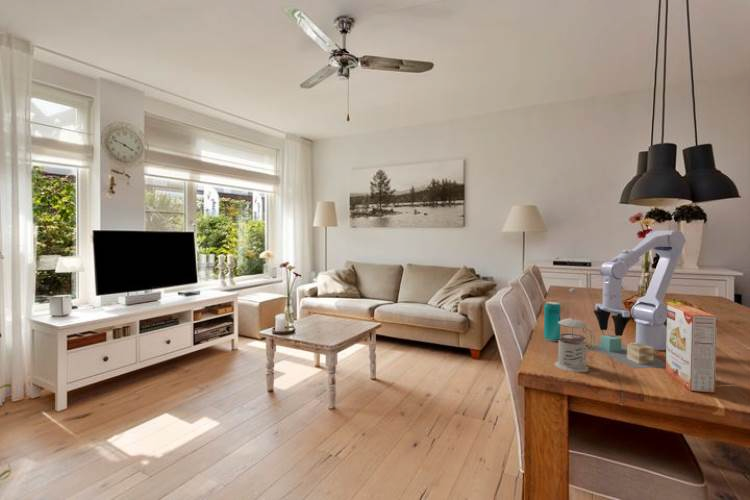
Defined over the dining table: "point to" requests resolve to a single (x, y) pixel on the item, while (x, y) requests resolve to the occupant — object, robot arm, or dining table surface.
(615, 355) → the slate mat
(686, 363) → the cracker box
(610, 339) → the teal block
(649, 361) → the tower lower
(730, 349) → the dining table surface
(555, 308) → the beverage can
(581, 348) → the french press
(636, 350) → the tower upper
